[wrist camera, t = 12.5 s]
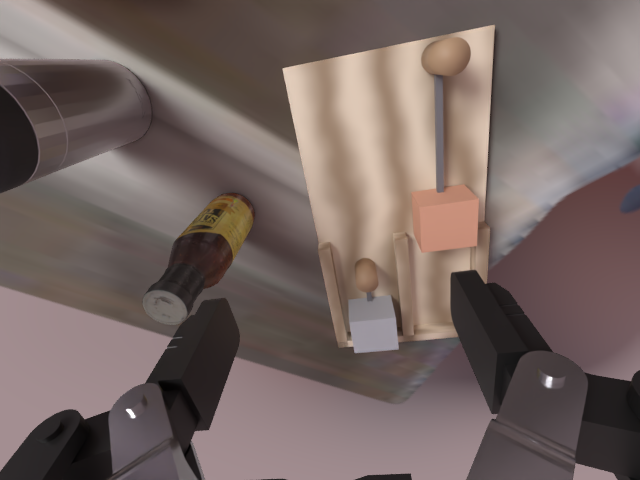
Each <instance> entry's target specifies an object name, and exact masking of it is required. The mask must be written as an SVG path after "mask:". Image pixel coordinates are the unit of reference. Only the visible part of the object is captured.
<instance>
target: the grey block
mask: <svg viewBox="0 0 640 480" xmlns="http://www.w3.org/2000/svg"><path fill="white" fill-rule="evenodd" d="M355 279H356V287H357V288H358V289H359V290H360V291H362V292H366V294H367V298H359V299H350V300H348V304H349V324H350V330H351V335H352V341H353V346H354V352H355V353H363V352H374V351H385V350H397V349H399V347H398V336H397V326H396V317H395V312H394V308H393V303H392V298H391V295H386V296H377V297H372V295H371V292H372V291H374V290H375V289H376V288H377V287H378V284H379V282H378V276H377V270H376V265H375V263H374V261H373V260H371V259H369V258H362V259H360V260H358V261H357V262H356V264H355Z"/></svg>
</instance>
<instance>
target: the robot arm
mask: <svg viewBox="0 0 640 480" xmlns="http://www.w3.org/2000/svg"><path fill="white" fill-rule="evenodd" d="M151 117H152V110H151V103H150V100H149V96H148V94H147V92H146V90H145V88H144V86H143V85H142V84H141V82H140V81H139V79H138V78H137V77H136V76H135V75H134V74H133V73H132V72H130V71H129V70H128V69H126V68H125V67H124V66H122V65H120V64H118V63H115V62H112V61H108V60H80V59H0V193H2V192H5V191H7V190H10V189H13V188H15V187H18V186H20V185H23V184H25V183H28V182H30V181H33V180H36V179H38V178H41V177H43V176H46V175H48V174H51V173H53V172H56V171H58V170H61V169H63V168H66V167H68V166H71V165H74V164H76V163H79V162H81V161H84V160H87V159H89V158H92V157H94V156H97V155H99V154H102V153H105V152H107V151H110V150H112V149H115V148H118V147H120V146H123V145H125V144H128V143H131V142H133V141H135V140H138V139H140V138H141V137H142V136H143V135H144V134H145V133H146V131H147V130H148V129H149V126H150V123H151ZM450 310H451V317H452V321H453V324H454V327H455V330H456V332H457V334H458V337H459V339H460V341H461V343H462V346H463V348H464V350H465V353H466V355H467V357H468V360H469V362H470V364H471V367H472V369H473V371H474V374H475V376H476V378H477V381H478V383H479V385H480V388H481V390H482V392H483V395H484V397H485V399H486V402H487V404H488V406H489V408H490V411H491V413H492V414H498V415H497V417H496V419H495V420H494V419H492V420H491V421H490V423H489V425H488V427H487V430H486V432H485V435H484V437H483V439H482V442H481V444H480V447H479V450H478V452H477V454H476V457H475V459H474V462H473V464H472V467H471V469H470V472H469V475H468V477H467V479H466V480H573V474H574V469H575V463H578V464H582V465H585V466H589V467H593V468H597V469H600V470H604V471H608V472H612V473H614V474H615V476H616V478H617V479H618V480H640V370H639V371H638V372H636V373H635V374H634V376H633V378H632V381H625V380H619V379H614V378H608V377H602V376H596V375H591V374H588V373H585V372H583V370H582V369H581V368H580V367H579V366H578V365H577V364H576V363H574V362H573V361H571V360H570V359H568V358H566V357H564V356H562V355H560V354H557V353H553V351H552V350H551V349H550V347H549V346H548V345H547V343H546V342H545V340H544V339H543V338H542V336H541V335H540V334H539V332H538V331H537V329H536V328H535V327H534V326H533V324H532V323H531V321H530V320H529V318H528V317H527V316H526V315H525V314H524V312H523V310H522V309H521V308H520V306H518V305H517V302H516V301H515V299H514V298H513V297H512V295H511V294H510V293H509V291H507V290H505V289H504V288H502V287H501V286H499V285H498V284H496V283H488V284H485V283H484V281H483V280H482V278H481V277H480V275H479V274H478V272H477V271H476V270H467V271H458V272H452V273H451V277H450ZM239 342H240V334H239V329H238V326H237V324H236V321H235V319H234V316H233V313H232V311H231V308H230V306H229V303H228V301H227V300H226V299H225V298H219V299H211V300H204V301H203V302H202V303H201V305H200V307H199V308H198V310H197V312H196V314H195V315H191V316H190V317H189V318H188V319H187V320H186V321H185V322H183V323H182V324H181V325H180V326H179V328H178V330H177V331H176V333H175V335H174V336H173V339H172V340H171V341H170V343H169V345H168V346H167V349H166V350H165V352H164V353H163V355H162V356H161V358H160V360H159V361H158V363H157V364H156V366H155V368H154V369H153V371H152V373H151V374H150V376H149V378H148V379H147V381H146V383H145V384H141V385H138V386H136V387H134V388H132V389H130V390H129V391H127V392H126V393H125V394H123V395H122V396H121V397H120V398H119V399H118V400H117V401H116V403H115V404H114V405H113V407H112V409H111V410H110V411H107V412H105V413H102V414H99V415H96V416H93V417H91V418H88V419H85V420H84V418H83V417H82V416H81V415H80V413H79V412H78V411H76V410H64V411H61V412H59V413H56V414H54V415H53V416H51V417H50V418H48V419H46V420H45V421H43V422H42V423H41V424H40V425H38V426H37V427H36V428H35V429H34V430H33V431H32V432H31V433H30V434H29V436H28V437H27V438H26V439H25V441H24V442H23V443H22V445H21V446H20V447H19V448H18V450H17V451H16V452H15V453H14V455H13V456H12V457H11V459H10V460H9V461H8V462H7V464H6V465H5V466H4V467H3V469H2V470H1V472H0V480H205V478H204V475H203V472H202V469H201V466H200V463H199V460H198V457H197V454H196V451H195V448H194V445H193V443H192V441H191V439H192V437H193V434H194V432H195V431H200V430H201V431H202V430H209V428H210V425H211V423H212V420H213V416H214V414H215V411H216V409H217V406H218V403H219V400H220V397H221V394H222V392H223V389H224V386H225V383H226V380H227V378H228V375H229V372H230V369H231V366H232V363H233V361H234V358H235V355H236V352H237V350H238V347H239ZM263 480H286V479H263ZM356 480H412V479H411V474H390V475H367V476H364V477H362V478H358V479H356Z"/></svg>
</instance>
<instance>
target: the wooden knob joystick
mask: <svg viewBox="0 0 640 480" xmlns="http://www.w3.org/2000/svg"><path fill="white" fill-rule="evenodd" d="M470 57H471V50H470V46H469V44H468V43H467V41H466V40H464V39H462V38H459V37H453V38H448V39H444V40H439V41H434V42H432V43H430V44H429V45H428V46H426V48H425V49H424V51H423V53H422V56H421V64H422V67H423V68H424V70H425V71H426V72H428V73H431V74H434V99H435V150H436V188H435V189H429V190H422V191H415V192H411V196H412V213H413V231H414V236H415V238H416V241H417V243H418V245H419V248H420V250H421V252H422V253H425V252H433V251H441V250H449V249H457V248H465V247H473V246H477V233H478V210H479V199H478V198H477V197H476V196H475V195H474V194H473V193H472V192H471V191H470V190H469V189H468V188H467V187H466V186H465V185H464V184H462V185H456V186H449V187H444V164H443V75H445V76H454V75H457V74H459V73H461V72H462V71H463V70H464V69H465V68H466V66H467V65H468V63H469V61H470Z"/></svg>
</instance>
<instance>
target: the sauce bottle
mask: <svg viewBox="0 0 640 480" xmlns="http://www.w3.org/2000/svg"><path fill="white" fill-rule="evenodd" d="M254 217H255V213H254V209H253V207H252V205H251V203H250V202H249V201H248V200H247V199H246V198H245V197H243V196H242V195H239V194H236V193H226V194H222V195H221V196H218V197H217V198H215V199H214V200H212V201H211V202H210V204H209V205H208V206H207V207H206V208H205V209H204V210H203V211H202V212H201V213H200V214H199V215H198V217H197V218H196V219H195V220H194V221H193V222H192V223H191V224H190V225H189V226H188V227H187V229H186V230H185V231H184V232H183V233H182V234H181V235H180V236H179V237H178V238H177V239H176V241H175V242H174V243H173V246H172V251H171V255H170V260H169V264H168V268H167V269H166V271H165V273H164V275H163V276H162V277H161V278H160V280H159V281H158V282H156V283H155V284H153V285H152V286H151V287H150V288H149V290H148V291H147V292H146V294H145V295H144V297H143V302H142V303H143V306H144V309H145V311H146V313H147V314H148V315H149V316H150V317H151V318H153V319H154V320H156V321H158V322H160V323H163V324H167V325H175V324H179V323H181V322H183V321H184V320H185V319H186V318H187V316H188V315H189V313H190V311H191V310H192V307H193V303H194V301H195V300H196V298H197V296H198V295H199V294H200V293H201V292H202V290H203V289H205V288H209V287H211V286H214V285H215V284H217V283H218V282H219V281H220V279H222V277H223V276H224V274H225V272H226V270H227V269H228V268H229V267H230V265H231V263H232V262H233V260H234V258H235V256H236V255H237V253H238V251H239V249H240V248H241V246H242V244H243V242H244V241H245V239H246V237H247V235H248V233H249V231H250V230H251V228H252V225H253V221H254Z"/></svg>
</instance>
